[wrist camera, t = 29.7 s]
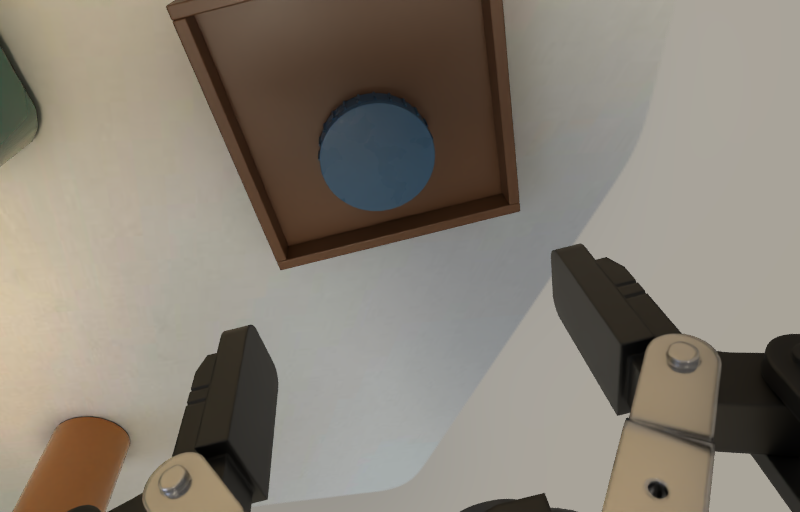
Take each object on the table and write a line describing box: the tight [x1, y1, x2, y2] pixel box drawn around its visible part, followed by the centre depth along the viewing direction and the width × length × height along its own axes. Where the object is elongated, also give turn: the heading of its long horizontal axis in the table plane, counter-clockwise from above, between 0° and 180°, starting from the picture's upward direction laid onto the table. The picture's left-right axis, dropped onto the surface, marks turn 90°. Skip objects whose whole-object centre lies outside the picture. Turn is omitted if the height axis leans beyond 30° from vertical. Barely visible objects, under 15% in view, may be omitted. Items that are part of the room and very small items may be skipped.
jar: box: [13, 417, 130, 512], centre depth 34 cm, size 5×5×10 cm
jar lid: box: [318, 92, 435, 211], centre depth 27 cm, size 6×6×2 cm
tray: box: [166, 0, 520, 270], centre depth 26 cm, size 14×14×2 cm
